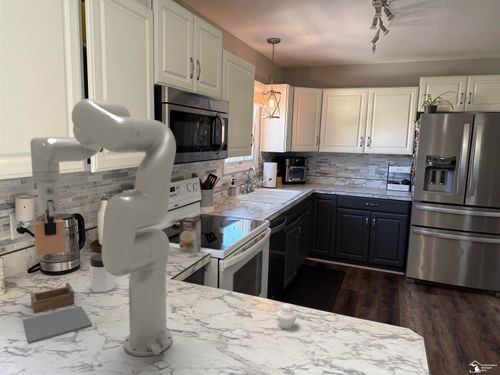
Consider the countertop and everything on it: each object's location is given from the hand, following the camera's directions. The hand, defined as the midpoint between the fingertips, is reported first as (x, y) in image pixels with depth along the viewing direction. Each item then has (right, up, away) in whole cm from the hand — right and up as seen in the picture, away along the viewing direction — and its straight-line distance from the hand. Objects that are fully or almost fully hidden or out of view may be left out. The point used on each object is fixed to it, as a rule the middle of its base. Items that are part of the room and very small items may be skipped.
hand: (49, 232), depth 114 cm
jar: (+10, -23, +17) cm, 30 cm away
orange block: (0, -6, +1) cm, 6 cm away
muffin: (+76, -27, -7) cm, 81 cm away
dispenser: (-1, -24, +3) cm, 24 cm away
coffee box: (+35, -17, +64) cm, 75 cm away
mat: (+8, -26, -9) cm, 28 cm away
